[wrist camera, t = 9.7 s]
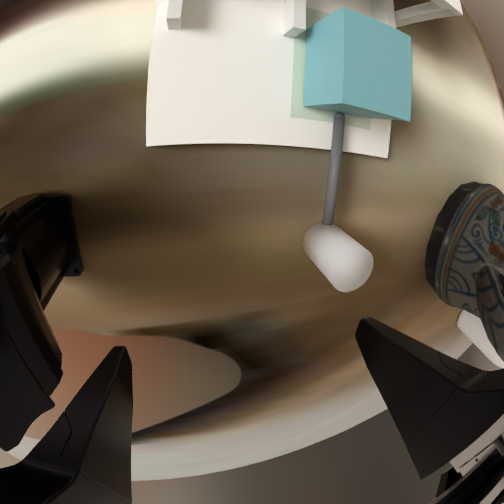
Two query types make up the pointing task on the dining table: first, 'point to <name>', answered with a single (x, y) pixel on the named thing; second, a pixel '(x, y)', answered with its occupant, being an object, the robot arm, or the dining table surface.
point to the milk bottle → (478, 335)
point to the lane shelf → (254, 73)
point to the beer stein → (471, 256)
